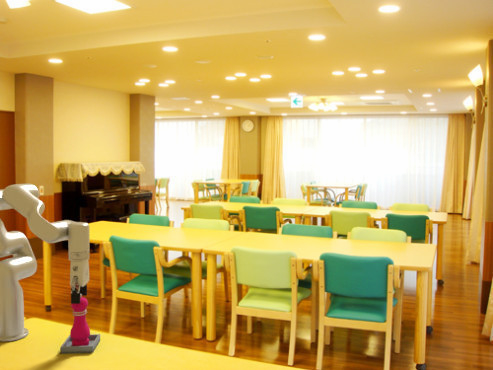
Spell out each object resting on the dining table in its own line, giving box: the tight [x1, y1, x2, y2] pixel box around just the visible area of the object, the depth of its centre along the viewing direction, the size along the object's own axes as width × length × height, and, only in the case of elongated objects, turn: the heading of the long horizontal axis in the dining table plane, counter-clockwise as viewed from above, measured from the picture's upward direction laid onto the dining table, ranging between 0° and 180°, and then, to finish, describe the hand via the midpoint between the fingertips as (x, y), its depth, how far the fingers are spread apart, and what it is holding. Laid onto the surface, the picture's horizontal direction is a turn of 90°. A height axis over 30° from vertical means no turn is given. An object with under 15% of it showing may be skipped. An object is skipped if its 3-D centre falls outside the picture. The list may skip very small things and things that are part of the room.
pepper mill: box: [69, 294, 91, 346], centre depth 181 cm, size 7×7×20 cm
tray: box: [60, 333, 101, 355], centre depth 181 cm, size 12×12×2 cm
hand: (79, 299), depth 180 cm, fingers open, 9 cm apart
